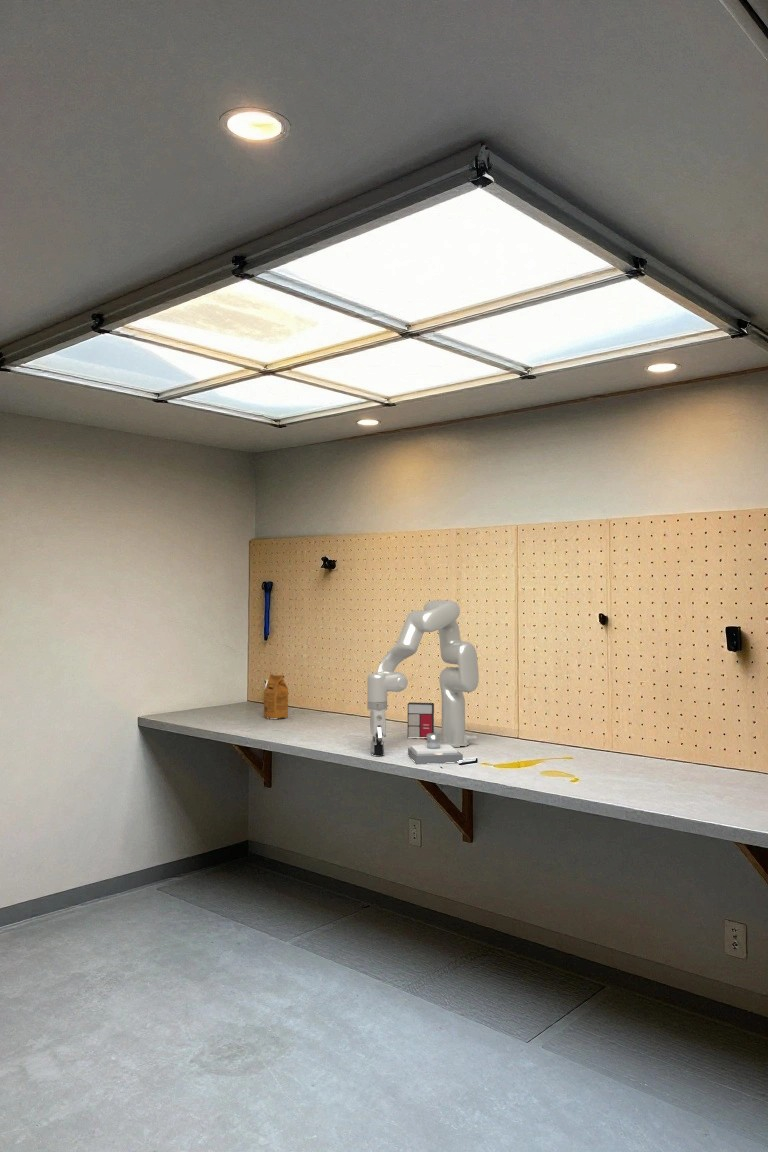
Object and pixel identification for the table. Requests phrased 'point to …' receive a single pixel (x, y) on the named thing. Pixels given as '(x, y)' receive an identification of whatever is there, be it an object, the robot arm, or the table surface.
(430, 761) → the block
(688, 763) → the table surface
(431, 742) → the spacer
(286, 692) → the coffee package
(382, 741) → the spacer
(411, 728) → the grey and red box
